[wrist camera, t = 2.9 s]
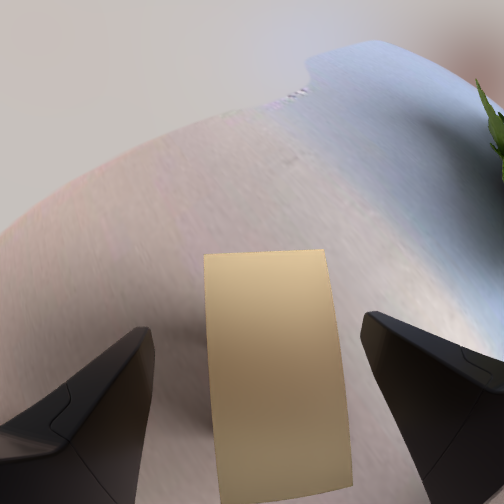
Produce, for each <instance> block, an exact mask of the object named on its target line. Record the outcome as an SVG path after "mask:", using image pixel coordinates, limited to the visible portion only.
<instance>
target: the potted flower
mask: <svg viewBox="0 0 504 504" xmlns="http://www.w3.org/2000/svg"><path fill="white" fill-rule="evenodd" d="M476 85H477V89H478V92H479V95H480V98H481V101H482V104H483V106H484V108H485V110H486V113H487V115H488V117H489V119H488V124H489V126H488V128H489V131H490V133H491V135H492V136H493V139H494V141H495V142H496V144H497V146H498V149H496V148H495V146H494V145H492V144H491V143H490V145H491V147H492V148H493V149H494V150H495V152H497V154H498V155H499V156H500V158H501V160H502V161H503V165H502V167H503V169H502V179H503V182H504V116H503V115H502V114H501V113H500V112H498V114H499V116H498V115H496V114H495V111H494V109H493V107H492V106H491V105H490V104H489V102H488V100H487V98H486V95H485V93H484V92H483V90H481V88H480V85H479V83H478V81H477V79H476Z"/></svg>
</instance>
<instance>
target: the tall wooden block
mask: <svg viewBox="0 0 504 504" xmlns="http://www.w3.org/2000/svg"><path fill="white" fill-rule="evenodd" d="M204 282H205V310H206V333H207V352H208V368H209V384H210V398H211V411H212V423H213V434H214V445H215V455H216V465H217V474H218V483H219V492H220V500H221V504H254V503H264V502H272V501H280V500H287V499H294V498H300V497H305V496H311V495H316V494H321V493H325V492H330V491H334V490H339V489H343V488H347V487H351V486H353V477H352V460H351V446H350V433H349V421H348V411H347V401H346V391H345V383H344V374H343V366H342V358H341V351H340V343H339V336H338V329H337V322H336V316H335V310H334V303H333V297H332V291H331V285H330V279H329V274H328V268H327V263H326V257H325V252H324V249H317V250H294V251H270V252H247V253H223V254H204Z"/></svg>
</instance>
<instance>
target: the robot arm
mask: <svg viewBox="0 0 504 504" xmlns="http://www.w3.org/2000/svg"><path fill="white" fill-rule="evenodd" d="M360 338H361V342H362V345H363V347H364V350H365V353H366V356H367V358H368V361H369V364H370V367H371V370H372V372H373V375H374V377H375V380H376V382H377V384H378V386H379V388H380V390H381V392H382V394H383V396H384V398H385V400H386V402H387V404H388V407H389V409H390V411H391V413H392V415H393V417H394V419H395V421H396V424H397V426H398V428H399V430H400V432H401V434H402V437H403V439H404V441H405V443H406V445H407V448H408V450H409V452H410V454H411V457H412V459H413V461H414V464H415V466H416V468H417V470H418V473H419V475H420V477H421V480H422V483H423V485H424V487H425V490H426V492H427V495H428V497H429V499H430V502H431V504H504V362H503V361H500V360H497V359H494V358H491V357H488V356H485V355H483V354H480V353H477V352H475V351H472V350H470V349H467V348H465V347H463V346H461V347H460V345H458V344H455V343H453V342H450V341H448V340H446V339H443V338H441V337H438V336H436V335H434V334H431V333H429V332H426V331H424V330H422V329H419V328H417V327H414V326H412V325H410V324H407V323H405V322H402V321H400V320H398V319H395V318H393V317H391V316H388V315H386V314H383V313H381V312H379V311H372V312H366V313H365V315H364V318H363V323H362V328H361V333H360ZM154 361H155V349H154V344H153V339H152V335H151V330H150V328H149V327H136V328H134V329H133V330H132V331H130V332H129V333H128V334H126V335H125V336H124V337H123V338H121V339H120V340H119V341H117V342H116V343H115V344H113V345H112V346H111V347H110V348H108V349H107V350H106V351H104V352H103V353H102V354H101V355H99V356H98V357H97V358H95V359H94V360H93V361H92V362H90V363H89V364H88V365H86V366H85V367H84V368H83V369H81V370H80V371H79V372H77V373H76V374H75V375H74V376H72V377H71V378H70V379H68V380H67V381H66V383H67V384H66V383H63V384H62V385H61V386H59V387H58V388H57V389H56V390H54V391H53V392H51V393H50V394H49V395H47V396H46V397H45V398H43V399H42V400H40V401H39V402H37V403H36V404H34V405H33V406H31V407H30V408H28V409H27V410H25V411H23V412H22V413H20V414H19V415H17V416H16V417H14V418H12V419H11V420H9V421H8V422H6V423H5V424H3V425H1V426H0V504H135V497H136V490H137V482H138V475H139V469H140V462H141V456H142V450H143V444H144V438H145V432H146V426H147V421H148V416H149V410H150V405H151V399H152V389H153V374H154Z"/></svg>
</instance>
